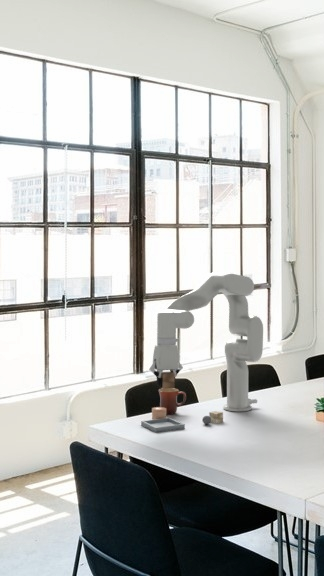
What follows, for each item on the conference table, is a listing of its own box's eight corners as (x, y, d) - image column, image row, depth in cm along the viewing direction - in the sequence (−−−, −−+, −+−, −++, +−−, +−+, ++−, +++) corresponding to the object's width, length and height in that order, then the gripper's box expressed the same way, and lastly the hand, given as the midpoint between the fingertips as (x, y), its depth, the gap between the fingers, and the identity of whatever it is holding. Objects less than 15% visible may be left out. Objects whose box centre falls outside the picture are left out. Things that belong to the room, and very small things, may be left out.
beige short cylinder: (162, 418, 305) (162, 406, 305) (168, 421, 300) (168, 409, 300) (149, 419, 303) (149, 408, 302) (156, 422, 297) (156, 410, 297)
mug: (157, 415, 311) (157, 391, 310) (159, 410, 319) (159, 387, 319) (185, 415, 309) (185, 392, 309) (186, 411, 318) (186, 388, 318)
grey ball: (208, 423, 296) (208, 414, 296) (212, 424, 293) (212, 416, 293) (200, 423, 295) (200, 415, 294) (205, 425, 291) (205, 417, 291)
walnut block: (168, 385, 294) (168, 371, 293) (174, 387, 289) (174, 373, 289) (157, 386, 291) (157, 372, 291) (163, 388, 287) (163, 373, 287)
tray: (169, 421, 298) (169, 417, 298) (184, 428, 287) (184, 424, 287) (141, 425, 292) (141, 420, 292) (155, 432, 281) (155, 427, 281)
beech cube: (216, 420, 302) (216, 410, 301) (223, 421, 299) (223, 412, 299) (209, 421, 299) (209, 412, 299) (216, 423, 296) (216, 413, 296)
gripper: (180, 339, 297) (180, 383, 297) (143, 341, 289) (143, 386, 290) (189, 341, 290) (188, 386, 291) (151, 343, 282) (151, 389, 283)
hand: (166, 386), depth 290 cm, fingers closed on walnut block, 5 cm apart
